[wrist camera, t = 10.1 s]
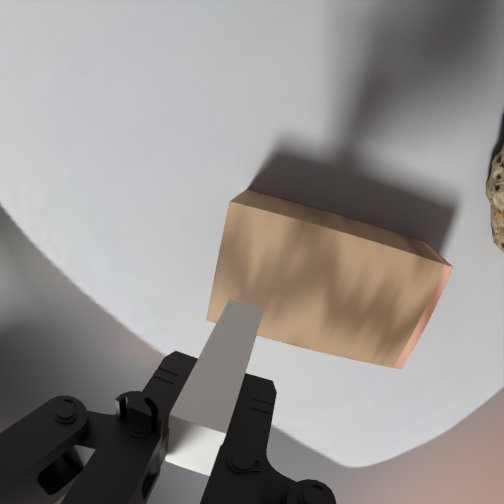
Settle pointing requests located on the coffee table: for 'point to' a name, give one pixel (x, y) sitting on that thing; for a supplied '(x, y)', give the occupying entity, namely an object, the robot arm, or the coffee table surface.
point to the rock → (497, 199)
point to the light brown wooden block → (327, 279)
